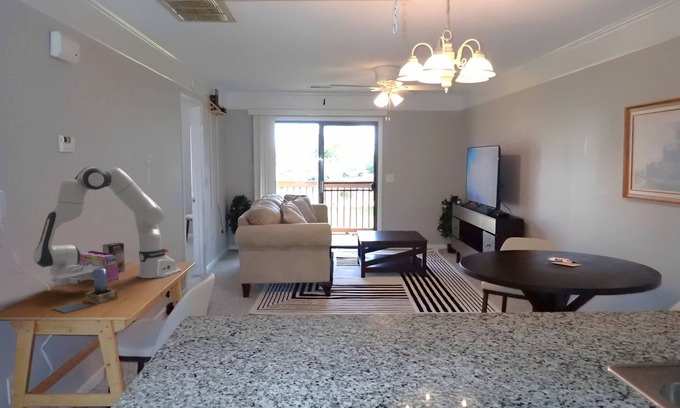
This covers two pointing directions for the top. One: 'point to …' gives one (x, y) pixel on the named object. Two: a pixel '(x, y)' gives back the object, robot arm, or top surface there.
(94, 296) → the oak collar
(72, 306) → the charcoal mat
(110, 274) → the gum box
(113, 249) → the coffee box
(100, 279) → the tall blue steel cylinder
